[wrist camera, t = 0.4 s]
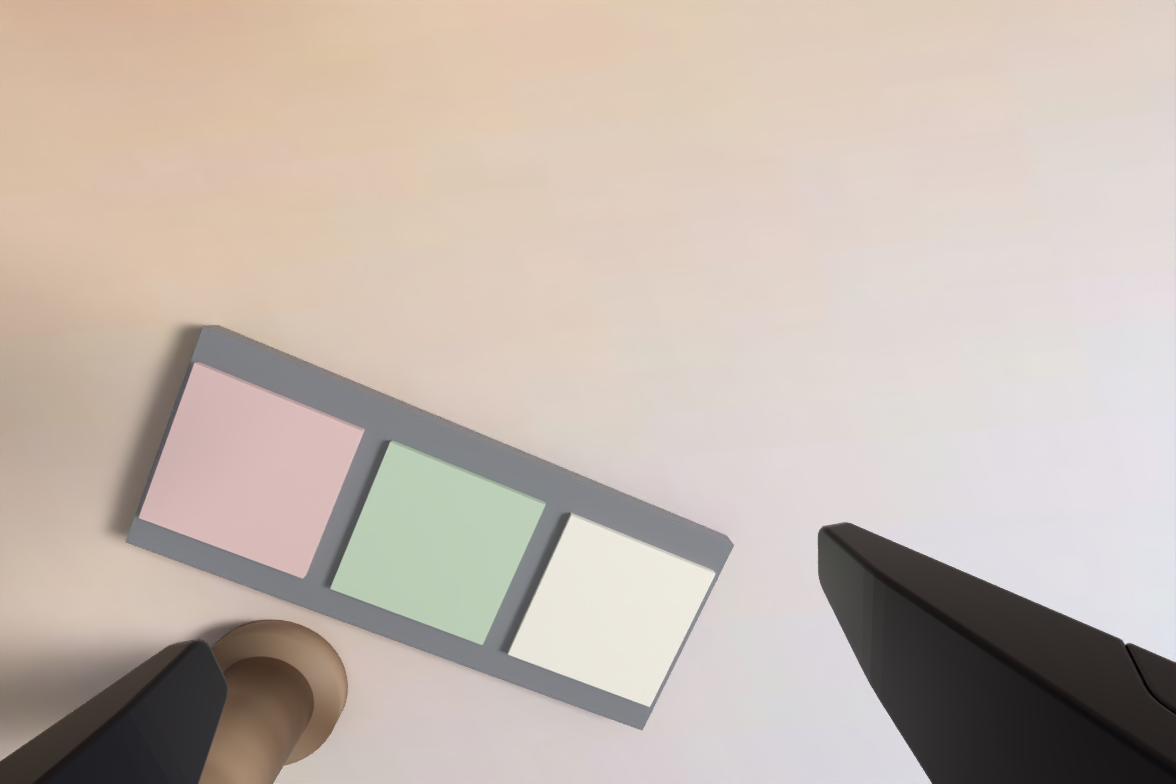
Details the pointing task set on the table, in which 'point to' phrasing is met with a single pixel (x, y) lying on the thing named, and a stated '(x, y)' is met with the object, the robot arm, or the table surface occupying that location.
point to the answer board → (423, 530)
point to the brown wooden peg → (273, 700)
